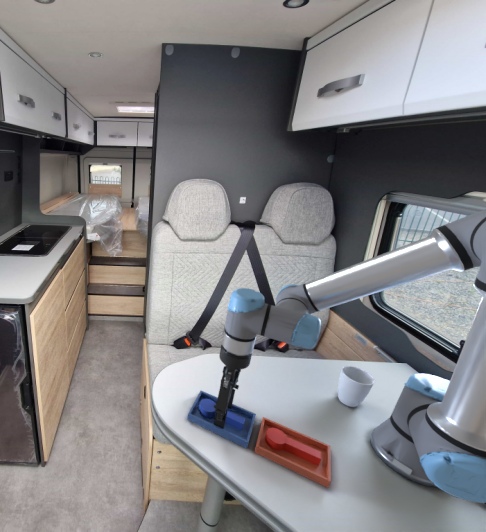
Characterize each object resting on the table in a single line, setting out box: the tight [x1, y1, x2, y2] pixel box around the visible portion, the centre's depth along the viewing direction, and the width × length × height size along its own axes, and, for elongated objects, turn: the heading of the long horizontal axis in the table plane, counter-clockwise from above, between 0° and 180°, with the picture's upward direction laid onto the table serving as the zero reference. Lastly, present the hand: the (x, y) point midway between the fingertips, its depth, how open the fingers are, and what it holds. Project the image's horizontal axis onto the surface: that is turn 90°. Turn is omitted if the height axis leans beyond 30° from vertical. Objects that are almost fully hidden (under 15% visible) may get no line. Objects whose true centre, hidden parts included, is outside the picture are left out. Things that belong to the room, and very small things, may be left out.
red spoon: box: [265, 428, 321, 466], centre depth 77 cm, size 12×5×2 cm, turn 59°
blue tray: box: [186, 390, 257, 449], centre depth 86 cm, size 16×11×2 cm, turn 59°
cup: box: [337, 365, 376, 408], centre depth 93 cm, size 8×8×10 cm
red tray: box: [254, 416, 332, 489], centre depth 78 cm, size 16×11×2 cm, turn 59°
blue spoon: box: [199, 399, 245, 430], centre depth 86 cm, size 12×5×2 cm, turn 59°
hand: (222, 415), depth 86 cm, fingers open, 7 cm apart
